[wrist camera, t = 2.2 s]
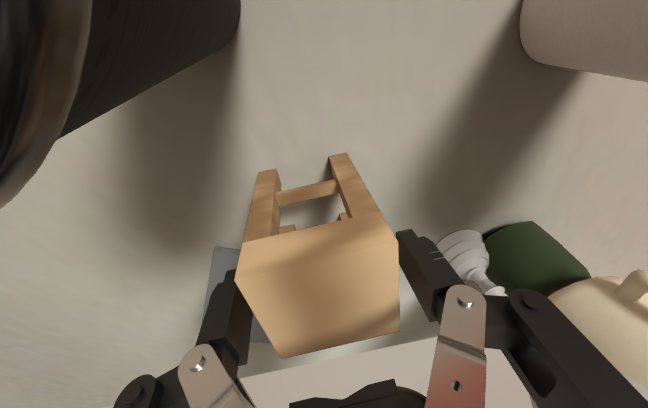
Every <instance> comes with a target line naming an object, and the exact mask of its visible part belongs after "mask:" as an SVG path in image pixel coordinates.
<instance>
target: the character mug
mask: <svg viewBox="0 0 648 408" xmlns="http://www.w3.org/2000/svg"><path fill="white" fill-rule="evenodd" d="M483 243H484V244H485V248H486V251H487V252H488V254H489V266H488V268H487V269H486V272H485V274H486V276H487V277H488V278H489V279H490V280H491V281H492V282H493V283H494V284H495V285H496V286H501V287H504V289H505V292H504V293H506V294H507V295H508V296H509V295H510V293H511V292H512V291H513V290H515V289H519V288H526V289H531V290H534V291H537V292H539V293H541V294H543V295H544V296H546V297H547V298H548V299H549V300H551V301H552V303H553V304H554V305H555V306H556V307H557V308H558V309H559V310H560V311H561V312H562V313H563V314H564V315H565V316H566V317H567V318H568V319H569V320H570V321H571V322H572V323H573V324H574V325H575V326H576V327H577V328H578V329H579V331H580V332H581V333H582V334H583V335H584V336H585V337H586V338H587V339H588V340H589V341H590V342H591V343H592V344H593V345H594V346H595V347H596V348H597V349H598V350H599V351H600V352H601V353H602V354H603V355H604V356H605V357H606V359H607V360H608V361H609V362H610V363H611V364H612V365H613V366H614V367H615V368H616V369H617V370H618V371H620V372H622V373H624V374H625V375H627V376H628V377H630V378H632V379H633V380H635V381H636V382H638V383H639V384H641V385H642V386H644V387H645V388H647V389H648V272H646V271H643V270H640V269H638V270H636V271H633V272H631V273H630V274H629V275H628V276H627V278H626V279H625V280H622V279H619V278H616V277H613V276H608V277H594V278H591V276H590V274H589V272H588V270H587V269H586V268H585V267H584V266H583V265H582V264H581V263H580V262H579V261H578V260H577V259H576V258H575V257H574V256H573V255H571V254H570V253H569V252H568V251H567V250H566V249H565V248H564V247H563V246H562V245H561V244H560V243H559V242H558V241H556V240H555V239H554V238H553V237H552V236H550V235H549V234H548V233H547V232H546V231H544V230H543V229H542V228H541V227H540V226H538V225H537V224H536V223H534V222H533V221H527V222H520V223H517V224H514V225H511V226H508V227H504V228H503V229H501V230H499V231H497V232H495V233H494V234H492V235H490V236H488V237H487V238H486V239H485V240H484V241H483Z"/></svg>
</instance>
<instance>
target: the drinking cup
mask: <svg viewBox="0 0 648 408" xmlns="http://www.w3.org/2000/svg"><path fill="white" fill-rule="evenodd" d="M240 6H241V3H240V0H0V209H1V208H2V207H4V206H5V205H6V204H7V203H9V202H10V201H11V200H12V199H13V198H14V197H15V196H16V195H17V194H18V193H19V192H20V191H21V189H22V188H23V187H24V186H25V184H26V183H27V182H28V181H29V180H30V179H31V178H32V177H33V175H34V174H35V173H36V172H37V170H38V169H39V168H40V166H41V165H42V163H43V161H44V160H45V158H46V156H47V154H48V153H49V151H50V149H51V148H52V146H53V144H54V143H55V141H56V140H57V139H59V138H61V137H63V136H65V135H66V134H68V133H70V132H72V131H74V130H75V129H77V128H79V127H81V126H83V125H84V124H86V123H88V122H90V121H92V120H93V119H95V118H97V117H99V116H101V115H102V114H104V113H106V112H108V111H110V110H111V109H113V108H115V107H117V106H118V105H120V104H122V103H124V102H126V101H127V100H129V99H131V98H133V97H135V96H136V95H138V94H140V93H142V92H144V91H145V90H147V89H149V88H151V87H153V86H154V85H156V84H158V83H160V82H162V81H163V80H165V79H167V78H169V77H171V76H172V75H174V74H176V73H178V72H179V71H181V70H183V69H185V68H187V67H188V66H190V65H192V64H194V63H196V62H197V61H199V60H201V59H203V58H205V57H206V56H208V55H210V54H212V53H214V52H215V51H217V50H219V49H221V48H222V47H223V46H225V45H226V44H227V43H228V42H229V40H230V39H231V38H232V36H233V35H234V33H235V31H236V28H237V25H238V22H239V17H240Z"/></svg>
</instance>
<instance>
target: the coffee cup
mask: <svg viewBox="0 0 648 408" xmlns="http://www.w3.org/2000/svg"><path fill="white" fill-rule="evenodd" d="M519 29H520V38H521V42H522V45H523V48H524V50H525V51H526V53H527V54H528V55H529V56H530V57H531V58H532V59H533V60H535V61H536V62H539V63H542V64H547V65H552V66H558V67H563V68H569V69H575V70H581V71H586V72H592V73H598V74H603V75H609V76H615V77H620V78H626V79H631V80H637V81H643V82H648V0H523V4H522V8H521V13H520V24H519Z"/></svg>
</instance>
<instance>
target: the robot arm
mask: <svg viewBox="0 0 648 408" xmlns="http://www.w3.org/2000/svg"><path fill="white" fill-rule="evenodd" d="M396 239H397V241H398V254H399V264H400V266H401V268H402V270H403V272H404V274H405V276H406V278H407V280H408V282H409V283H410V285H411V287H412V289H413V291H414V293H415V295H416V297H417V299H418V301H419V303H420V304H421V306H422V308H423V310H424V312H425V314H426V316H427V318H428V320H429V322H433V321H438V323H439V325H440V330H439V335H438V339H437V344H436V350H435V355H434V360H433V366H432V371H431V376H430V382H429V387H428V392H427V397H425V396H424V395H422V394H420V393H418V392H416V391H414V390H411V389H409V388H405V387H399V386H396V383H395V380H394V379H391V380H386V381H382V382H378V383H374V384H370V385H367V386H365V387H364V388H362V389H360V390H359V391H357V392H355V393H354V394H352V395H350V396H349V397H347V398H345V399H342V400H339V399H328V398H317V397H315V398H310V399H306V400H302V401H297V402H293V403H290V404H289V408H485V388H486V355H485V354H484V348H493V349H501V351H502V352H503V354H504V355H505V357H506V358H507V360H508V361H509V363H510V365H511V366H512V368H513V369H514V371H515V372H516V374H517V375H518V377H519V378H520V380H521V381H522V383H523V385H524V386H525V388H526V389H527V391H528V392H529V394H530V395H531V397H532V399H533V400H534V402H535V403H536V405H537V406H538V408H648V401H647V400H646V399H645V398H644V397H643V396H642V395H641V394H640V393H639V392H638V391H637V390H636V389H635V388H634V387H633V385H632V384H631V383H630V382H629V381H628V380H627V379H626V378H625V377H624V376H623V375H622V374H621V373H620V372H619V371H618V370H617V369H616V368H615V367H614V366H613V365H612V364H611V363H610V362H609V361H608V360H607V359H606V357H605V356H604V355H603V354H602V353H601V352H600V351H599V350H598V349H597V348H596V347H595V346H594V345H593V344H592V343H591V342H590V341H589V340H588V339H587V338H586V337H585V336H584V335H583V334H582V333H581V332H580V331H579V329H578V328H577V327H576V326H575V325H574V324H573V323H572V322H571V321H570V320H569V319H568V318H567V317H566V316H565V315H564V314H563V313H562V312H561V311H560V310H559V309H558V308H557V307H556V306H555V305H554V304H553V303H552V301H551V300H549V299H548V298H547V297H546V296H544V295H543V294H541V293H539V292H537V291H534V290H531V289H526V288H519V289H515V290H513V291H512V292H511V293H510V295H509V296H495V295H485V294H481V293H480V292H479V291H477V290H476V289H474V288H472V287H470V286H467V285H466V284H465V283H464V282H463V281H462V279H461V278H460V277H459V276H458V274H457V273H456V272H455V270H454V269H453V268H452V266H451V265H450V264H449V262H448V261H447V260H446V258H444V256H443V254H442V253H441V252H440V251H439V249H438V248H437V246H436V245H435V244H434V243H433V242H432V241H431V240H429V239H427V238H426V237H424V236H423V237H419V238H418V237H417V236H416V234H415V233H414V231H413V230H412V229H407V230H403V231H399V232H396ZM236 270H237V268H236V269H231V270H228V271H227V272H226V274H225V278H224V281H223V282H221V283H218V284H217V286H216V287H215V289H214V290H213V292H212V293H211V297H210V300H209V305H208V306H207V310H206V313H205V316H204V319H203V323H202V326H201V329H200V333H199V336H198V339H197V342H196V345H195V347H194V348H192V349H191V350H190V351H189V352H188V353H187V354H186V355H185V356H184V357H183V359H182V360H181V362H180V365H179V366H177V367H176V368H174V369H172V370H170V371H168V372H167V373H165V374H163V375H161V376H160V377H158V378H154V377H153V376H152V375H142V376H140V377H138V378H136V379H134V380H133V381H132V382H130V383H129V384H128V385H127V386H126V387H125V388H124V390H123V391H122V392H121V393H120V395H119V397H118V398H117V400H116V402H115V405H114V407H113V408H257V407H256V406H255V404H254V403H253V401H252V399H251V398H250V396H249V394H248V393H247V391H246V390H245V388H244V386H243V385H242V383H241V381H240V379H239V378H238V376H237V371H238V366H241V365H245V364H247V358H248V350H249V342H250V334H251V326H252V318H253V311H252V309H251V308H250V306H249V304H248V303H247V301H246V299H245V298H244V296H243V294H242V293H241V291H240V289H239V288H238V286H237V284H236V283H235V281H234V279H235V274H236Z"/></svg>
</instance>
